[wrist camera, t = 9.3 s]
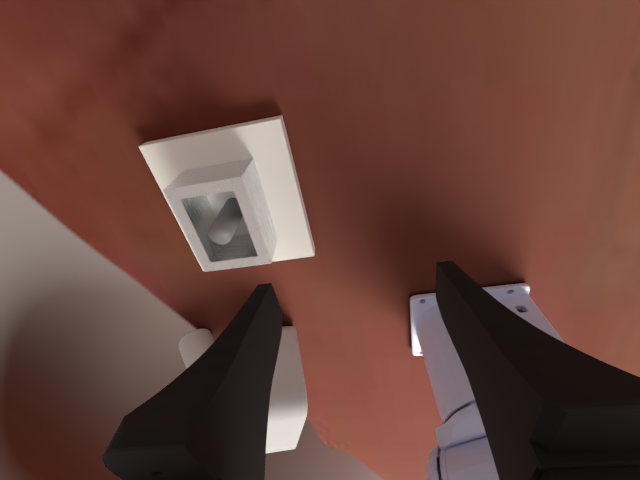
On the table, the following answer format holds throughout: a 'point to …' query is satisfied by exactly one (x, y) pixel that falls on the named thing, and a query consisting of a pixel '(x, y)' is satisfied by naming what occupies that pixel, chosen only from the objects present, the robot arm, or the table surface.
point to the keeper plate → (227, 146)
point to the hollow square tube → (198, 216)
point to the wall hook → (285, 389)
